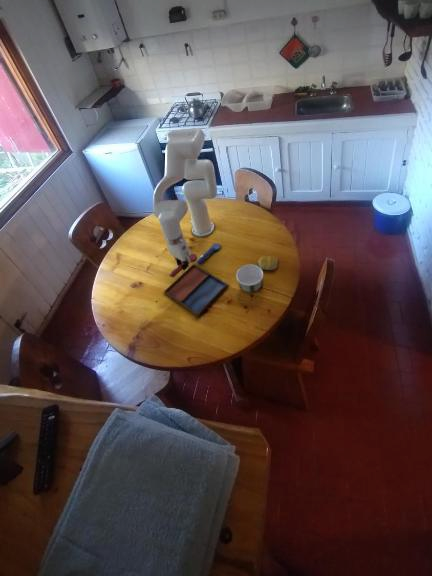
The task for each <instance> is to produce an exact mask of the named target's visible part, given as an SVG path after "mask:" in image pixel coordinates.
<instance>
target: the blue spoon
mask: <svg viewBox="0 0 432 576" xmlns="http://www.w3.org/2000/svg"><path fill="white" fill-rule="evenodd" d="M220 250H221V244H219V243H213V244H212V245H211V247H209V249H208V250H206V251H205V252H204V253H203V254H201V256H200V257H199V258H197V260H196V264H197V265H201V264H202V263H203V262H205V260H206V259H208V258H209V257H210V256H211V255H212V254H213V253H214V252H218V251H220Z"/></svg>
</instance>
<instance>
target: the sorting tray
mask: <svg viewBox="0 0 432 576" xmlns="http://www.w3.org/2000/svg"><path fill="white" fill-rule="evenodd" d="M228 287H229V285H228V283H227V282H225V281H223V280H221V279H220V278H218V277H216V276H215V275H213V274H211V273H210V272H208V271H206V270H204V269H203V268H201V267H200V266H197V265H196V264H194V263H193V264H192V265H191V266H190V267H188V268H187V269H186V270H184V272H183V273H182V274H181V275H180V276H179V277H177V279H176V280H174V282H172V283H171V284H170V285H169V286H168V287H167V288H166V289H164V291H163V292H164V294H165V295H166V296H167V297H169V298H170V299H172V300H173V301H174V302H176V303H178V304H179V305H180V306H181V307H183V308H185V309H186V310H187V311H189V312H190V313H192V314H193V315H194V316H196V317H197V318H200V317H201V315H203V313H204V312H205V311H206V310H207V309H208V308H209V307H210V306H211V305H212V304H213V303H214V302H215V301H216V300H217V299H218V298H219V296H221V295H222V293H223V292H224V291H225V290H226V289H227V288H228Z"/></svg>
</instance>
